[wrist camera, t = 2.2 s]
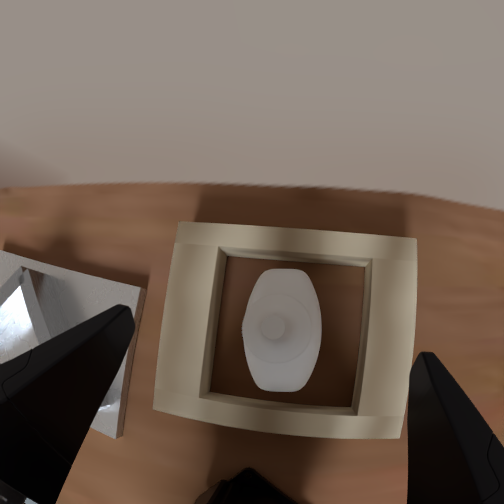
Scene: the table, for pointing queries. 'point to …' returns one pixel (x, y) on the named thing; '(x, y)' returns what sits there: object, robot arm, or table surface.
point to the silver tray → (63, 318)
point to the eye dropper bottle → (282, 330)
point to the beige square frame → (301, 250)
